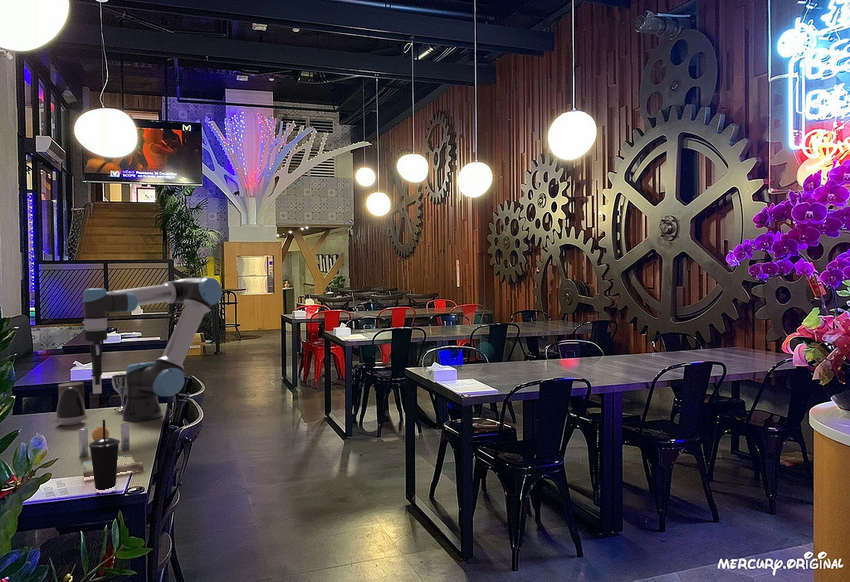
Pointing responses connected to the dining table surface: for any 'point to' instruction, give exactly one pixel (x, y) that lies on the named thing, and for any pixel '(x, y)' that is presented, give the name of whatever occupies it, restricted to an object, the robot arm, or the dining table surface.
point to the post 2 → (125, 437)
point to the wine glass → (120, 386)
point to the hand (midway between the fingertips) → (97, 392)
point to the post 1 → (83, 442)
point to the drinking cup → (104, 461)
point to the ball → (99, 433)
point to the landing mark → (91, 460)
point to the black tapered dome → (70, 407)
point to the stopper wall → (120, 468)
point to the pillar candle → (73, 384)
